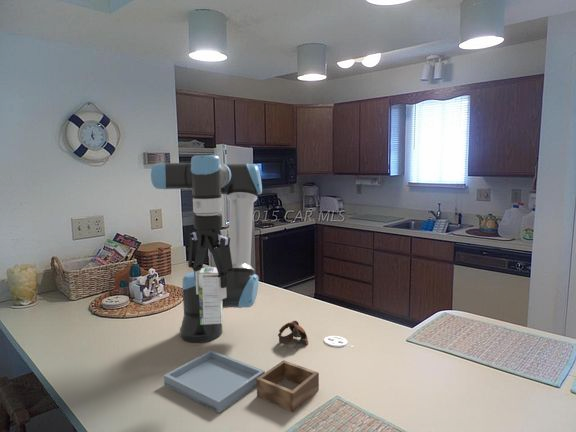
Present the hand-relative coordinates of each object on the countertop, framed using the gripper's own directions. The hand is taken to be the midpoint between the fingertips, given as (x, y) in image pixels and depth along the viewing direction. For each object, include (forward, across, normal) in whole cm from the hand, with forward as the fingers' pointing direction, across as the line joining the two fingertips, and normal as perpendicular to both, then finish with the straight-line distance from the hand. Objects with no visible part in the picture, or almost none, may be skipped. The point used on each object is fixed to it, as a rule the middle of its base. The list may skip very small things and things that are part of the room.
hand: (211, 295), depth 110 cm
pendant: (+26, +17, +42) cm, 52 cm away
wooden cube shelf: (+26, +20, +8) cm, 34 cm away
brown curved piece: (+26, +4, +34) cm, 43 cm away
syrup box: (+7, 0, 0) cm, 7 cm away
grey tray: (+26, 0, 0) cm, 26 cm away
